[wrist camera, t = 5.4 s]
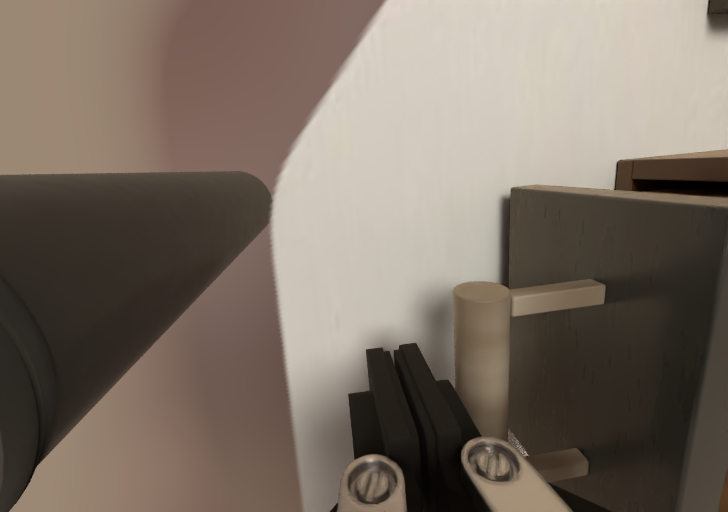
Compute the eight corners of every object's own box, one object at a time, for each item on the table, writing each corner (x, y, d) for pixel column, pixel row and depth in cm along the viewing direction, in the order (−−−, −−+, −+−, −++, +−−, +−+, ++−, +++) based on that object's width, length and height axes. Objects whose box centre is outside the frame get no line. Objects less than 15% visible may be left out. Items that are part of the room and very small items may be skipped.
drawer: (420, 439, 16) (505, 669, 9) (406, 197, 13) (515, 233, 6) (749, 382, 18) (1055, 534, 11) (799, 157, 15) (1273, 145, 8)
